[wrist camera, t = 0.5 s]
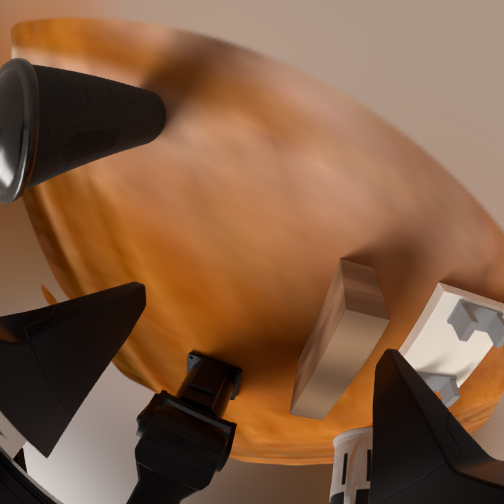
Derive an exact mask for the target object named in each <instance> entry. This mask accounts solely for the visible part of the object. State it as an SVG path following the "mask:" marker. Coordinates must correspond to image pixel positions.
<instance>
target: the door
mask: <svg viewBox="0 0 504 504" xmlns="http://www.w3.org/2000/svg"><path fill="white" fill-rule="evenodd" d="M389 322H390V317H389V314H388V310H387V307H386V304H385V300H384V297H383V294H382V291H381V288H380V284H379V281H378V278H377V275H376V272H375V269H374V268H372V267H369V266H365V265H362V264H358V263H355V262H351V261H348V260H344V259H341V258H340V261H339V263H338V266H337V269H336V271H335V274H334V277H333V279H332V282H331V285H330V287H329V290H328V292H327V295H326V297H325V300H324V302H323V305H322V307H321V310H320V312H319V315H318V317H317V319H316V322H315V324H314V327H313V329H312V331H311V333H310V336H309V338H308V340H307V343H306V345H305V347H304V349H303V351H302V354H301V356H300V358H299V361H298V367H297V373H296V379H295V385H294V391H293V397H292V402H291V407H290V413H289V414H292V415H296V416H301V417H306V418H311V419H316V420H323V418H324V417H325V416H326V415H327V413H328V412H329V411H330V410H331V408H332V407H333V406H334V405H335V403H336V402H337V401H338V399H339V398H340V397H341V395H342V394H343V393H344V391H345V390H346V389H347V387H348V386H349V385H350V383H351V382H352V380H353V379H354V377H355V376H356V375H357V373H358V372H359V370H360V369H361V367H362V366H363V364H364V363H365V361H366V360H367V358H368V357H369V355H370V354H371V352H372V350H373V349H374V347H375V346H376V344H377V342H378V341H379V339H380V337H381V336H382V334H383V332H384V331H385V329H386V327H387V325H388V324H389Z"/></svg>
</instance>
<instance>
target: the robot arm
mask: <svg viewBox="0 0 504 504" xmlns="http://www.w3.org/2000/svg"><path fill="white" fill-rule="evenodd" d="M145 306H146V290H145V286H144V284H141V283H139V282H131V283H127V284H124V285H120V286H117V287H113V288H110V289H106V290H103V291H99V292H96V293H92V294H89V295H85V296H82V297H78V298H75V299H71V300H68V301H64V302H61V303H58V304H57V305H56V304H54V305H50V306H47V307H43V308H40V309H36V310H31V311H27V312H22V313H17V314H12V315H7V316H2V317H0V504H63V503H62V502H60V501H59V500H58V499H56V498H55V497H54V496H53V495H51V494H50V493H49V492H48V491H46V490H45V489H44V488H43V487H42V486H40V485H39V484H38V483H37V482H36V481H35V480H34V479H33V478H31V477H30V476H29V475H28V474H27V469H26V464H25V458H24V452H23V448H22V446H23V445H24V444H25V442H26V441H28V442H29V443H30V444H31V445H32V446H33V447H34V448H35V449H36V450H38V451H39V452H40V453H41V454H42V455H43V456H45V457H46V458H47V457H48V456H49V455H50V453H51V452H52V450H53V448H54V447H55V445H56V443H57V442H58V440H59V439H60V437H61V435H62V434H63V432H64V431H65V429H66V428H67V426H68V424H69V423H70V421H71V420H72V418H73V416H74V415H75V413H76V412H77V410H78V409H79V407H80V406H81V404H82V403H83V401H84V399H85V398H86V397H87V395H88V394H89V392H90V391H91V389H92V388H93V386H94V385H95V383H96V382H97V380H98V379H99V377H100V376H101V375H102V373H103V372H104V370H105V369H106V367H107V366H108V365H109V363H110V362H111V360H112V359H113V358H114V356H115V355H116V353H117V352H118V351H119V349H120V348H121V346H122V345H123V344H124V342H125V341H126V339H127V338H128V336H129V335H130V333H131V331H132V329H133V328H134V326H135V324H136V322H137V321H138V319H139V317H140V316H141V314H142V312H143V310H144V309H145ZM241 376H242V370H241V369H240V368H237V367H233V366H230V365H227V364H224V363H221V362H218V361H215V360H212V359H209V358H207V357H204V356H201V355H198V354H195V353H193V352H190V353H189V354H188V356H187V376H186V378H185V380H184V381H183V383H182V385H181V387H180V389H179V390H178V392H177V394H176V396H173V395H171V394H169V393H167V391H165V390H162V391H161V393H160V394H156V393H155V395H154V397H153V398H152V400H151V401H150V403H149V404H148V405H147V406H146V408H145V409H144V410H143V411H142V412H141V413H140V414H139V415H138V417H137V422H138V428H137V429H138V430H137V433H136V435H137V436H139V437H141V438H140V440H139V442H138V444H137V446H136V448H135V458H136V465H137V472H138V479H139V480H138V483H137V485H136V487H135V488H134V490H133V492H132V494H131V496H130V498H129V500H128V502H127V503H126V504H180V502H181V500H182V499H184V498H186V497H188V496H189V495H191V494H193V493H195V492H197V491H198V490H199V491H200V490H202V489H204V488H205V487H206V486H208V485H209V483H210V482H211V479H212V477H213V475H214V473H215V472H220V471H221V470H222V468H223V467H224V465H225V463H226V461H227V459H228V457H229V455H230V452H231V448H232V443H233V439H234V435H235V430H236V426H237V424H236V423H234V422H229V421H227V420H224V419H222V418H223V416H224V413H225V411H226V408H227V406H228V403H229V400H234V399H235V397H236V393H237V390H238V386H239V383H240V379H241ZM368 504H504V461H501V460H497V459H494V458H492V457H491V456H489V455H488V454H487V453H486V452H485V451H484V450H483V449H482V448H481V446H480V445H479V444H478V443H477V442H476V441H475V440H474V439H473V438H472V437H471V436H470V435H469V434H468V432H467V431H466V430H465V429H464V428H463V427H462V426H461V425H460V423H459V422H458V421H457V420H456V419H455V417H454V416H453V415H452V414H451V412H449V410H448V409H447V407H446V406H445V405H444V404H443V403H442V401H441V400H440V399H439V398H438V397H437V395H436V394H435V393H434V392H433V391H432V389H431V388H430V387H429V386H428V385H427V383H426V382H425V381H424V380H423V379H422V378H421V376H420V375H419V374H418V373H417V372H416V371H415V369H414V368H413V367H412V366H411V365H410V364H409V363H408V361H407V360H406V359H405V358H404V357H403V356H402V355H401V353H400V352H399V351H398V350H395V349H386V350H385V352H384V354H383V355H382V357H381V358H380V360H379V362H378V363H377V365H376V369H375V382H374V395H373V442H372V465H371V480H370V491H369V500H368Z"/></svg>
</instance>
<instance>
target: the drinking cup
mask: <svg viewBox="0 0 504 504" xmlns="http://www.w3.org/2000/svg"><path fill="white" fill-rule="evenodd" d="M165 115H166V114H165V107H164V104H163V102H162V100H161V98H160V97H159V96H158V95H157V94H155V93H153V92H150V91H147V90H144V89H141V88H137V87H134V86H131V85H127V84H124V83H120V82H116V81H113V80H109V79H105V78H101V77H97V76H92V75H88V74H84V73H79V72H74V71H69V70H64V69H58V68H52V67H46V66H39V65H31V63H30V62H29V61H27V60H25V59H22V58H15V59H11V60H10V61H8V62H6V63H5V64H4V65H3V66H2V67H1V68H0V202H1V203H4V204H9V203H12V202H14V201H16V200H18V199H19V198H20V197H21V196H22V194H23V193H24V192H25V190H27V189H29V188H32V187H34V186H36V185H38V184H40V183H42V182H44V181H46V180H49V179H51V178H53V177H55V176H58V175H60V174H62V173H65V172H67V171H69V170H72V169H74V168H77V167H79V166H82V165H84V164H87V163H90V162H92V161H95V160H98V159H101V158H103V157H106V156H109V155H112V154H115V153H118V152H121V151H124V150H127V149H131V148H134V147H137V146H141V145H144V144H147V143H149V142H151V141H153V140H154V139H155V138H156V137H157V136H158V135H159V133H160V132H161V130H162V128H163V126H164V122H165Z"/></svg>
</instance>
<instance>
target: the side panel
mask: <svg viewBox="0 0 504 504" xmlns="http://www.w3.org/2000/svg"><path fill="white" fill-rule="evenodd" d="M493 344H494V346H495V347H498V348H501V347H502V345H503V344H504V303H501V302H498V301H495V300H492V299H489V298H486V297H483V296H480V295H477V294H474V293H471V292H468V291H465V290H462V289H459V288H456V287H452V286H449V285H446V284H443V283H440V282H438V284H437V286H436V288H435V290H434V292H433V294H432V296H431V298H430V299H429V301H428V303H427V305H426V307H425V308H424V310H423V312H422V314H421V315H420V317H419V319H418V321H417V322H416V324H415V326H414V327H413V329H412V330H411V332H410V334H409V335H408V337H407V338H406V340H405V341H404V343H403V344H402V346H401V347H400V349H399V350H398V351H399V352H400V353H401V355H402V356H403V357H404V358H405V359H406V360H407V361H408V363H409V364H410V365H411V366H412V367H413V368H414V369H415V371H416V372H417V373H418V374H419V375H420V376H421V378H422V379H423V380H424V381H425V382H426V383H427V385H428V386H429V387H430V388H431V389H432V391H439V392H440V395H441V399H442V402H443V404H444V405H445V406H446V407H450V406H451V405H452V404H453V403H454V402H455V401H456V400H457V399H458V398H459V397H460V393H459V390H458V388H459V387H460V385H461V384H462V383H463V382H464V381H465V380H466V379H467V377H468V376H469V375H470V374H471V373H472V371H473V370H474V369H475V368H476V367H477V365H478V364H479V363H480V361H481V360H482V359H483V358H484V356H485V355H486V354H487V352H488V351H489V350H490V348H491V347H492V345H493Z"/></svg>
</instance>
